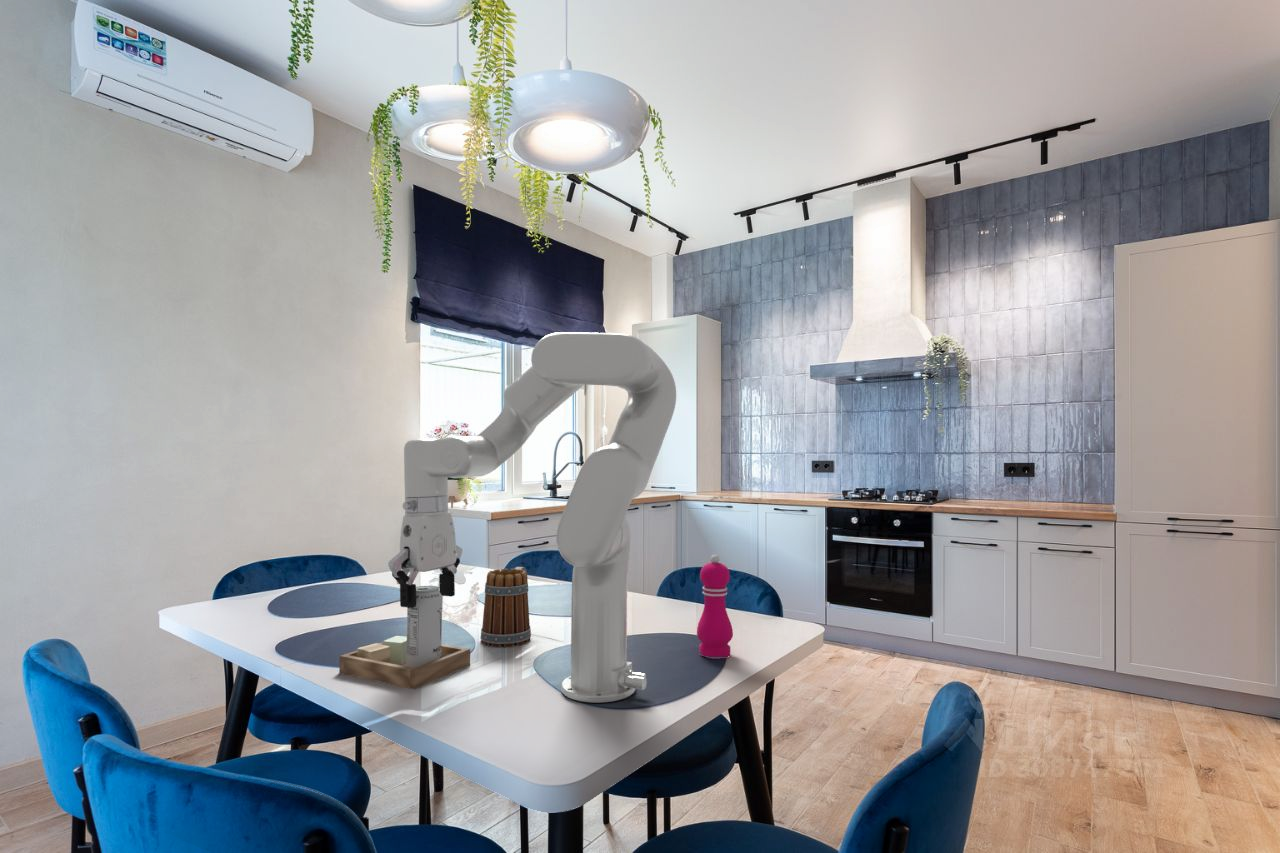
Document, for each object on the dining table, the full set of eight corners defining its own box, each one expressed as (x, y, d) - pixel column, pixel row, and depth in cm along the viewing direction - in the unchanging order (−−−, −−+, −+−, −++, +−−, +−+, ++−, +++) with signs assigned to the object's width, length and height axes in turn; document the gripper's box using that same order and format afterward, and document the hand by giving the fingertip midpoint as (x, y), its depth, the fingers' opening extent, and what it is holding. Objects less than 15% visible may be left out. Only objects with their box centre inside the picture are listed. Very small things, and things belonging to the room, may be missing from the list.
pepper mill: (715, 662, 128) (715, 558, 129) (689, 653, 134) (689, 554, 135) (740, 655, 133) (740, 555, 134) (714, 647, 138) (714, 551, 139)
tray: (470, 668, 124) (470, 648, 124) (414, 692, 111) (414, 670, 111) (398, 655, 132) (399, 636, 132) (339, 676, 119) (339, 655, 119)
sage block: (413, 658, 128) (414, 637, 128) (400, 664, 124) (401, 642, 124) (395, 656, 129) (396, 635, 129) (382, 662, 125) (383, 641, 125)
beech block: (389, 668, 121) (390, 646, 122) (370, 674, 118) (370, 652, 118) (376, 664, 124) (376, 643, 124) (356, 670, 120) (357, 648, 121)
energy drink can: (442, 675, 118) (444, 590, 119) (406, 679, 116) (408, 592, 116) (439, 665, 124) (441, 584, 124) (405, 668, 121) (407, 586, 122)
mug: (519, 652, 134) (520, 577, 135) (471, 648, 136) (472, 575, 137) (546, 631, 150) (546, 565, 150) (502, 629, 152) (503, 563, 152)
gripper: (406, 510, 111) (408, 613, 111) (474, 502, 127) (476, 593, 126) (374, 510, 115) (375, 610, 114) (444, 503, 130) (445, 590, 129)
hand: (428, 601), depth 120 cm, fingers open, 9 cm apart
